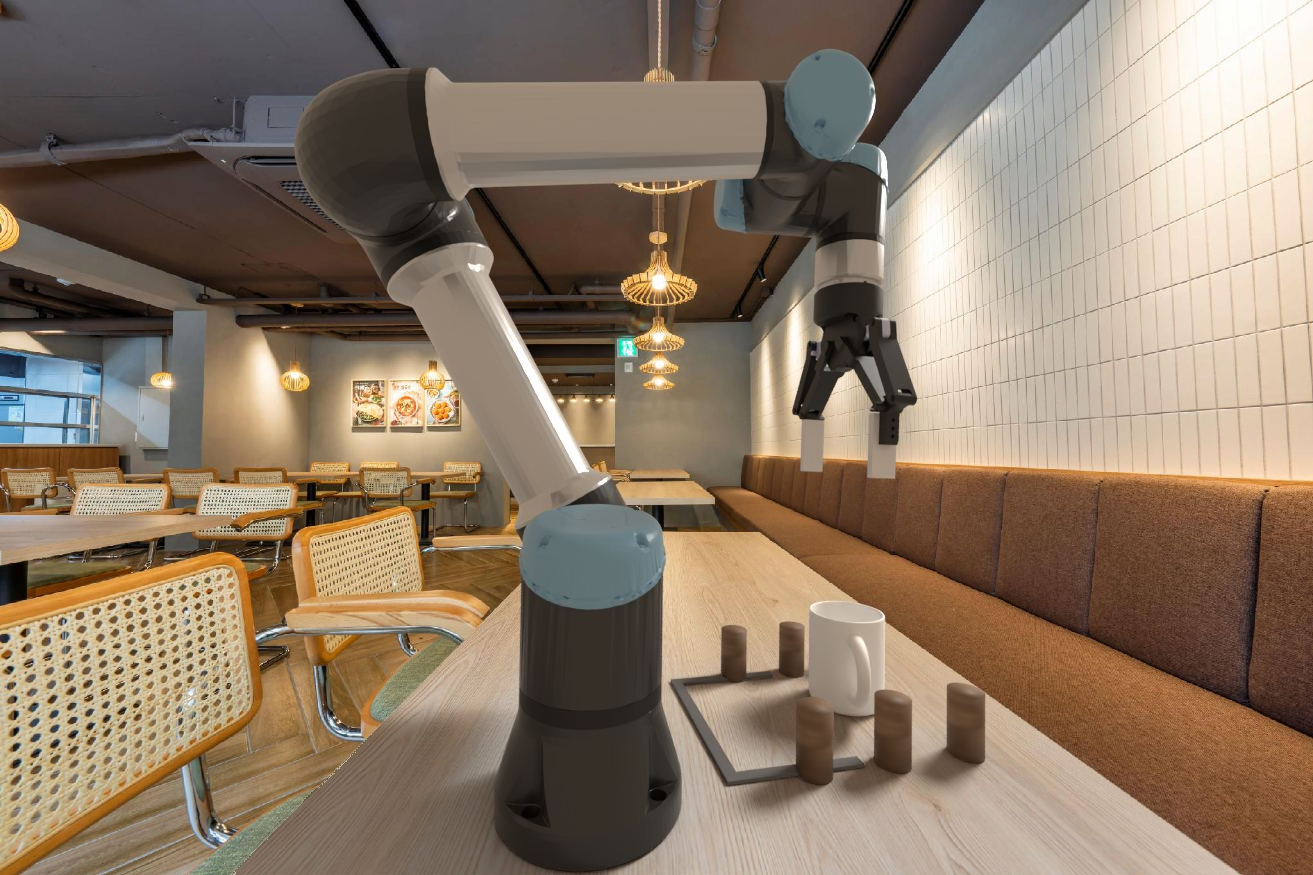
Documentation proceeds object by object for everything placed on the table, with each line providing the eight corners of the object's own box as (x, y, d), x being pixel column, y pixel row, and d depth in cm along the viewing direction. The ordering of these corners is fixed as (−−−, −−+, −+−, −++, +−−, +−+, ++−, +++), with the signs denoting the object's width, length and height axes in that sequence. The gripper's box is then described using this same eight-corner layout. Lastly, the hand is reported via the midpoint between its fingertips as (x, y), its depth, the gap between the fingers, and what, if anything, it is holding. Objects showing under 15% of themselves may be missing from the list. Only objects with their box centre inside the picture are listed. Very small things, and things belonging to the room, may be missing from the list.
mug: (907, 741, 52) (907, 637, 52) (822, 734, 53) (822, 632, 53) (872, 686, 64) (872, 602, 64) (803, 682, 65) (804, 599, 65)
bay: (728, 785, 45) (728, 781, 45) (670, 681, 65) (670, 679, 65) (864, 767, 48) (864, 763, 48) (769, 673, 67) (769, 670, 67)
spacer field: (806, 786, 45) (807, 716, 45) (717, 672, 67) (717, 625, 68) (993, 760, 49) (993, 696, 49) (850, 661, 72) (850, 617, 72)
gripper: (962, 255, 49) (956, 483, 48) (819, 318, 73) (814, 470, 72) (892, 244, 47) (885, 481, 46) (770, 312, 71) (764, 468, 71)
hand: (842, 474), depth 59 cm, fingers open, 13 cm apart
